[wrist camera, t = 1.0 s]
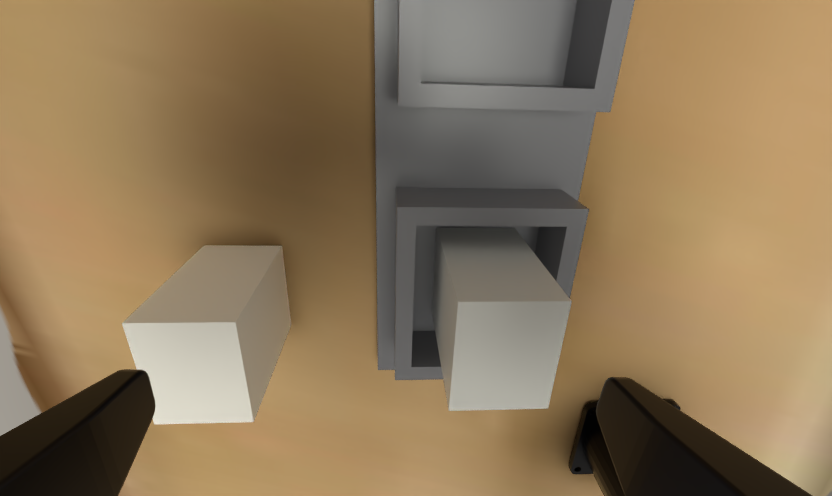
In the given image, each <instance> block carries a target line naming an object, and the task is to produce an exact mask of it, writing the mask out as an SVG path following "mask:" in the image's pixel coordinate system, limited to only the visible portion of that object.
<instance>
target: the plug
mask: <svg viewBox="0 0 832 496" xmlns="http://www.w3.org/2000/svg"><path fill="white" fill-rule="evenodd" d="M122 325H123V328H124V331H125V334H126V337H127V340H128V343H129V346H130V350H131V353H132V356H133V359H134V362H135V365H136V368H137V370H144V371H146V372H147V373H148V376H149V379H150V383H151V387H152V391H153V395H154V399H155V412H154V416H153V421H154V424H189V423H232V422H254V420H255V417H256V415H257V412H258V410H259V407H260V404H261V402H262V399H263V397H264V394H265V392H266V389H267V386H268V384H269V381H270V379H271V376H272V373H273V371H274V368H275V366H276V363H277V361H278V358H279V355H280V353H281V350H282V348H283V345H284V342H285V340H286V337H287V335H288V332H289V330H290V327H291V317H290V309H289V300H288V292H287V283H286V274H285V266H284V257H283V248H282V246H237V245H204V246H203V247H202V248H201V249H200V250H198V251H197V252H196V253H195V254H194V255H193V256H192V257H191V258H190V259H189V260H188V261H187V262H186V263H185V264H184V265H183V266H182V267H181V268H180V269H178V270H177V271H176V272H175V273H174V274H173V275H172V276H171V277H170V278H169V279H168V280H167V281H166V282H165V283H164V284H163V285H162V286H161V287H159V288H158V289H157V290H156V291H155V292H154V293H153V294H152V295H151V296H150V297H149V298H148V299H147V300H146V301H145V302H144V303H143V304H142V305H141V306H139V307H138V308H137V309H136V310H135V311H134V312H133V313H132V314H131V315H130V316H129V317H128V318H127V319H126V320H125V321H124V322H123V323H122Z"/></svg>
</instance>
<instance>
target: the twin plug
mask: <svg viewBox="0 0 832 496" xmlns="http://www.w3.org/2000/svg"><path fill="white" fill-rule="evenodd" d="M571 302H572V301H571V300H570V298H569V297H568V296H567V295H566V293H565V292H564V291H563V289H562V288H561V287H560V286H559V284H558V283H557V282H556V280H555V279H554V278H553V277H552V275H551V274H550V273H549V271H548V270H547V269H546V268H545V266H544V265H543V264H542V262H541V261H540V260H539V259H538V257H537V256H536V255H535V253H534V252H533V251H532V250H531V248H530V247H529V246H528V244H527V243H526V242H525V241H524V239H523V238H522V237H521V235H520V234H519V233H518V231H517V230H516V229H515V228H437V230H436V248H435V266H434V283H433V301H432V315H433V321H434V327H435V333H436V339H437V345H438V351H439V357H440V362H441V368H442V374H443V380H444V386H445V392H446V398H447V403H448V409H449V411H463V410H507V409H548V406H549V402H550V397H551V393H552V388H553V384H554V379H555V375H556V370H557V366H558V361H559V357H560V352H561V348H562V343H563V339H564V334H565V330H566V325H567V321H568V316H569V312H570V307H571Z"/></svg>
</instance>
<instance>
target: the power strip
mask: <svg viewBox="0 0 832 496" xmlns="http://www.w3.org/2000/svg"><path fill="white" fill-rule="evenodd" d="M634 1H635V0H374V26H375V125H376V225H377V324H378V370H395V380H426V379H443V374H442V368H441V362H440V357H439V351H438V345H437V339H436V333H435V327H434V321H433V315H432V301H433V283H434V266H435V248H436V230H437V228H515V229H516V230H517V231H518V233H519V234H520V235H521V237H522V238H523V239H524V241H525V242H526V243H527V244H528V246H529V247H530V248H531V250H532V251H533V252H534V253H535V255H536V256H537V257H538V259H539V260H540V261H541V262H542V264H543V265H544V266H545V268H546V269H547V270H548V271H549V273H550V274H551V275H552V277H553V278H554V279H555V280H556V282H557V283H558V284H559V286H560V287H561V288H562V289H563V291H564V292H565V293H566V295H567V296H568V297H569V298H570V294H571V290H572V285H573V281H574V276H575V271H576V267H577V262H578V258H579V253H580V249H581V244H582V239H583V235H584V230H585V226H586V221H587V216H588V212H589V209H588V208H587V207H585V206H584V205H583V204H581V203H580V202H578V198H579V193H580V189H581V184H582V179H583V174H584V169H585V164H586V159H587V154H588V149H589V145H590V140H591V135H592V130H593V125H594V120H595V115H596V112H610V111H611V106H612V102H613V97H614V93H615V88H616V84H617V79H618V74H619V70H620V65H621V61H622V56H623V51H624V47H625V42H626V38H627V33H628V29H629V24H630V19H631V15H632V10H633V6H634Z"/></svg>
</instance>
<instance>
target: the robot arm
mask: <svg viewBox="0 0 832 496" xmlns="http://www.w3.org/2000/svg"><path fill="white" fill-rule="evenodd" d="M154 412H155V399H154V395H153V391H152V387H151V383H150V379H149V376H148V373H147V372H146V371H144V370H131V369H124V370H119V371H117V372H115V373H113V374H112V375H110V376H108V377H106V378H104V379H102V380H101V381H99V382H97V383H95V384H93V385H92V386H90V387H88V388H86V389H84V390H83V391H81V392H79V393H77V394H75V395H74V396H72V397H70V398H68V399H66V400H65V401H63V402H61V403H59V404H57V405H56V406H54V407H52V408H50V409H48V410H47V411H45V412H43V413H41V414H39V415H38V416H36V417H34V418H32V419H30V420H29V421H27V422H25V423H23V424H21V425H19V426H18V427H16V428H14V429H12V430H11V431H9V432H7V433H5V434H3V435H1V436H0V496H118V495H119V493H120V490H121V488H122V486H123V484H124V482H125V480H126V477H127V475H128V473H129V470H130V468H131V466H132V464H133V461H134V459H135V457H136V455H137V452H138V450H139V448H140V445H141V443H142V441H143V439H144V436H145V434H146V432H147V430H148V427H149V425H150V423H151V420H152V418H153V416H154ZM569 468H570V470H571V472H572V473H573V474H593V475H594V477H595V479H596V481H597V483H598V485H599V487H600V489H601V491H602V493H603V495H604V496H812V495H811V494H809V493H807V492H806V491H804V490H803V489H801V488H800V487H798V486H797V485H795V484H793V483H792V482H790V481H789V480H787V479H786V478H784V477H783V476H781V475H779V474H778V473H776V472H775V471H773V470H772V469H770V468H769V467H767V466H765V465H764V464H762V463H761V462H759V461H758V460H756V459H755V458H753V457H751V456H750V455H748V454H747V453H745V452H744V451H742V450H741V449H739V448H737V447H736V446H734V445H733V444H731V443H730V442H728V441H727V440H725V439H723V438H722V437H720V436H719V435H717V434H716V433H714V432H713V431H711V430H710V429H708V428H706V427H705V426H703V425H702V424H700V423H699V422H697V421H696V420H694V419H692V418H691V417H689V416H688V415H686V414H685V413H683V412H682V411H680V407H679V405H678V404H677V403H676V402H675V401H664V400H663V399H661V398H660V397H658V396H657V395H655V394H654V393H652V392H650V391H649V390H647V389H646V388H644V387H643V386H641V385H640V384H638V383H636V382H635V381H633V380H632V379H630V378H626V377H610V378H608V379H607V380H606V381H605V384H604V387H603V389H602V392H601V395H600V398H599V401H598V402H593V403H589V404H587V405H586V406H585V407H584V410H583V414H582V418H581V421H580V425H579V429H578V432H577V436H576V440H575V444H574V447H573V451H572V455H571V458H570V462H569Z"/></svg>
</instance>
